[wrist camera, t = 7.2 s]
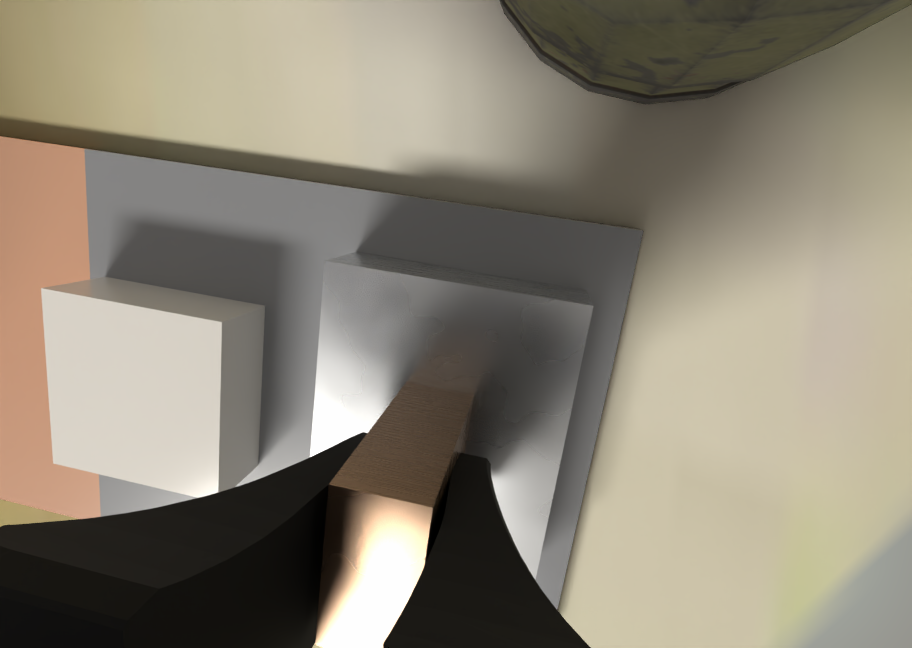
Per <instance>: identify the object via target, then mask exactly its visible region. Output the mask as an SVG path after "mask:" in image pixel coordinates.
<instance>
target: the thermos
mask: <svg viewBox="0 0 912 648" xmlns="http://www.w3.org/2000/svg"><path fill="white" fill-rule="evenodd" d="M500 2H501V5H502V8H503V11H504V14H505V15H506V16H507V18H508V19H509V20H510V22H511V23H512V24H513V25H514V27H515V28H516V29H517V31H518V32H519V33H520V34H521V36H522V37H523V38H524V40H525V41H526V42H527V44H528V45H529V46H530V47H531V49H532V50H533V51H534V53H535V54H536V55H537V57H538V58H539V59H540V60H541V61H542V62H544V63H546V64H547V65H549V66H550V67H552V68H553V69H555V70H556V71H558V72H559V73H561V74H563V75H564V76H566V77H567V78H569V79H570V80H572V81H573V82H575V83H577V84H578V85H580V86H581V87H583V88H584V89H586V90H587V91H590V92H595V93H599V94H603V95H608V96H612V97H616V98H621V99H625V100H629V101H634V102H638V103H642V104H652V103H661V102H671V101H681V100H691V99H701V98H708V97H710V96H713V95H715V94H718V93H720V92H722V91H725V90H727V89H729V88H732V87H734V86H737V85H739V84H741V83H744V82H746V81H750V80H753V79H755V78H758V77H760V76H762V75H765V74H767V73H769V72H772V71H774V70H777V69H779V68H781V67H784V66H786V65H789V64H791V63H793V62H796V61H798V60H800V59H803V58H805V57H808V56H810V55H812V54H815V53H817V52H819V51H822V50H824V49H827V48H829V47H831V46H834V45H836V44H838V43H840V42H841V41H843V40H845V39H847V38H849V37H851V36H853V35H855V34H856V33H858V32H860V31H862V30H864V29H866V28H868V27H870V26H871V25H873V24H875V23H877V22H879V21H881V20H883V19H885V18H886V17H888V16H890V15H892V14H894V13H896V12H898V11H900V10H901V9H903V8H905V7H907V6H909V5H911V4H912V0H500Z"/></svg>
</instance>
